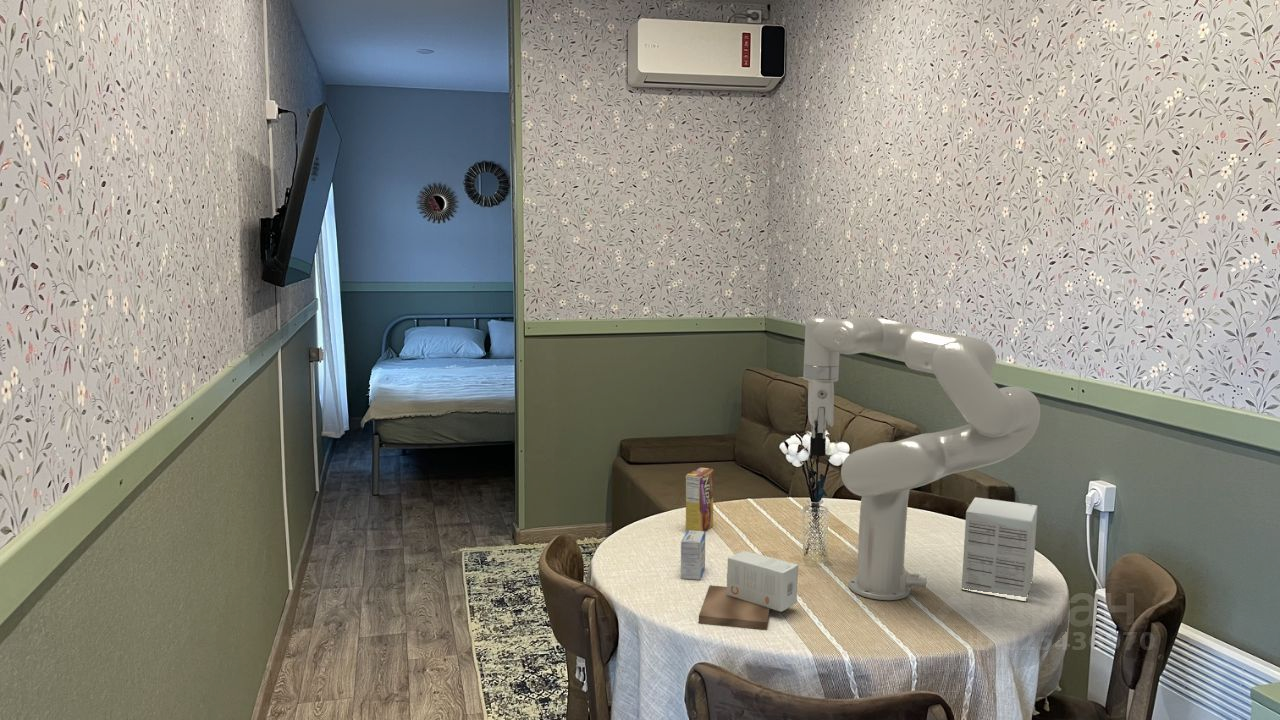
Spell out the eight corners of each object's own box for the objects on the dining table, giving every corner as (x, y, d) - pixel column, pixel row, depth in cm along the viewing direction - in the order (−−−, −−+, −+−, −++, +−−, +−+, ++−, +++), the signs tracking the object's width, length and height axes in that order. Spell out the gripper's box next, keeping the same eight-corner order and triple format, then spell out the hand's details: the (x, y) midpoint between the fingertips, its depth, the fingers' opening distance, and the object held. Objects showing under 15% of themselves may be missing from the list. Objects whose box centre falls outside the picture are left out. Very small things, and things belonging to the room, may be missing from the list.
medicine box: (700, 580, 195) (701, 542, 194) (680, 579, 196) (680, 540, 194) (705, 568, 202) (706, 531, 201) (685, 566, 203) (686, 529, 202)
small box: (799, 564, 178) (743, 549, 186) (783, 573, 173) (726, 557, 182) (797, 603, 179) (742, 586, 188) (781, 613, 174) (725, 595, 183)
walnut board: (772, 597, 186) (772, 590, 185) (766, 629, 170) (767, 622, 170) (709, 592, 188) (709, 585, 188) (698, 623, 173) (698, 615, 173)
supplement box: (969, 571, 203) (974, 496, 200) (1033, 582, 196) (1038, 504, 194) (959, 591, 191) (964, 511, 189) (1027, 603, 185) (1032, 520, 183)
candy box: (698, 523, 235) (699, 466, 233) (713, 526, 233) (715, 468, 231) (684, 533, 227) (685, 474, 225) (699, 536, 225) (701, 476, 223)
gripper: (842, 378, 189) (838, 464, 191) (834, 369, 203) (831, 448, 206) (805, 377, 189) (802, 462, 192) (801, 367, 204) (798, 447, 207)
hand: (817, 455), depth 199 cm, fingers closed
